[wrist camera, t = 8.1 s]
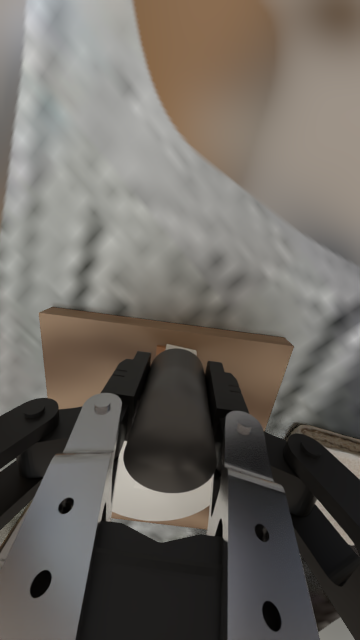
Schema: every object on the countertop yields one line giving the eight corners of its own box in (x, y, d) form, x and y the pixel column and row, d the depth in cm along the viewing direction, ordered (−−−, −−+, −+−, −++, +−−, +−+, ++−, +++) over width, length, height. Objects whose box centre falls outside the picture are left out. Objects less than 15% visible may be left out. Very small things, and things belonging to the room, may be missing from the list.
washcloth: (384, 530, 24) (412, 569, 21) (241, 495, 23) (249, 532, 20) (458, 461, 20) (505, 497, 17) (290, 415, 19) (309, 446, 16)
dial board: (226, 514, 23) (229, 534, 21) (67, 495, 23) (58, 514, 21) (284, 337, 16) (295, 347, 14) (52, 307, 15) (36, 313, 14)
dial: (202, 504, 20) (213, 670, 12) (79, 481, 19) (6, 638, 11) (268, 346, 14) (369, 465, 6) (96, 307, 13) (-27, 384, 6)
